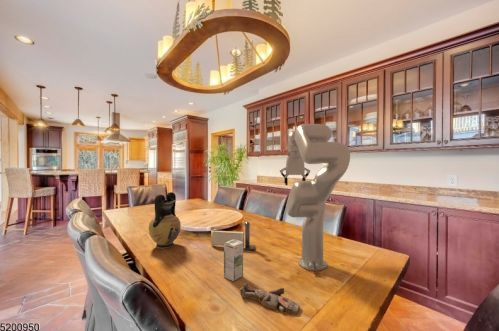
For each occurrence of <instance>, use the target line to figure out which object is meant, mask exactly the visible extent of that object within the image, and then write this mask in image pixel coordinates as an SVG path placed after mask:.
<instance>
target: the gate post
mask: <svg viewBox="0 0 499 331" xmlns="http://www.w3.org/2000/svg"><path fill="white" fill-rule="evenodd" d="M250 225H251V223H250V222H249V221H246V222H245V223H244V229H245V232H244V251H255V249H256V245H255V244H253V245H252V244H250V243H251V242H250V239H251V238H250V237H251V236H250V235H251V234H250Z"/></svg>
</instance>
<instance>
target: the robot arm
mask: <svg viewBox="0 0 499 331" xmlns="http://www.w3.org/2000/svg"><path fill="white" fill-rule="evenodd" d="M332 135H333V132H332V129H331V128H330V127H329V126H328V125H325V124H322V123H302V124H299V125H298V126H297V128H296V129H295V130H292V131H291V132H290V133H288V135H287V136H288V138H287V140H288V142H287V144H288V146H287V147H288V148H287V152H286V153H285V156H287V158H286V162H285V167H284V168H282V169H279V172H280V174H281V176H282V177H283V178H284V182H283V183H284V185H285V186H288V184H289V183H288V176H301V177H302V178H301V180H299V181H295V182H294V183H293V184H292V186H291V188H290V191H289V194H288V198H287V200H286V207H285V208H286V209H285V210H286V213H287V215H288V216H289V217H290V218H297V219H298V218H305V219H304V220H303V222H302V224H301V257H300V258H298V265H299V266H300V267H301V268H302V269H304V270H308V271H315V272H316V271H323V270H325V269H327V267H328V263H327V261H326V260H325V259H324V220H325V214H326V209H327V207H326V206H327V205H326V202H327V200H328V199H329V198H330V196H331V195H332V192H333V191H334V189H335V187H336V185H337V183H338V182H339V181H340V180H341V179H342V177H343V176H344V175H345V173H346V171H347V170H348V168H349V166H350V161H351V151H350V148H349V147H348V146H347V145H346V144H344V143H342V142H337V141H330V140H331V138H332ZM305 164H308V165H324V166H323V167H322V168H320V169H319V170H318V171H317V172H316V174H315V175H314V178H313V179H312V180H306V179H307V177H309V175H310V173H311V170H310V169H309V168H306V167H305ZM284 171H285V173H284ZM305 171H306V172H305Z"/></svg>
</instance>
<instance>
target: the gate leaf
mask: <svg viewBox="0 0 499 331" xmlns="http://www.w3.org/2000/svg"><path fill="white" fill-rule="evenodd" d="M210 232H211V234H210V235H211V237H210V238H211V240H210V241H211V247H215V246H223V247H224V243H226V242H228V241H231V240H233V239H234V240H238V241H241V242H243V249H245V232H244V231H230V230H229V231H228V230H227V231H225V230H211V231H210Z"/></svg>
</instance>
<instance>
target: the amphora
mask: <svg viewBox="0 0 499 331" xmlns="http://www.w3.org/2000/svg"><path fill="white" fill-rule="evenodd" d="M153 201H154V217H153V218H152V219H151V220H150V222H149V224H148V232H149V237H150V238H151V240H152V241H153V242H154V243H156V246H155V247H156V249H164V250H165V249H170V248H172V247H174V245H175V244H174V241H175V240H177V238H178V236H179V234H180V232H181V227H182V226H181V221H180V218H179V217H178V216H177V215H176V201H177V196H176V193H174V192H172V191H170V192H168V193H167V194H166V196H165V195H163V194H157V195H156V196H155V197H154V200H153Z"/></svg>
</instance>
